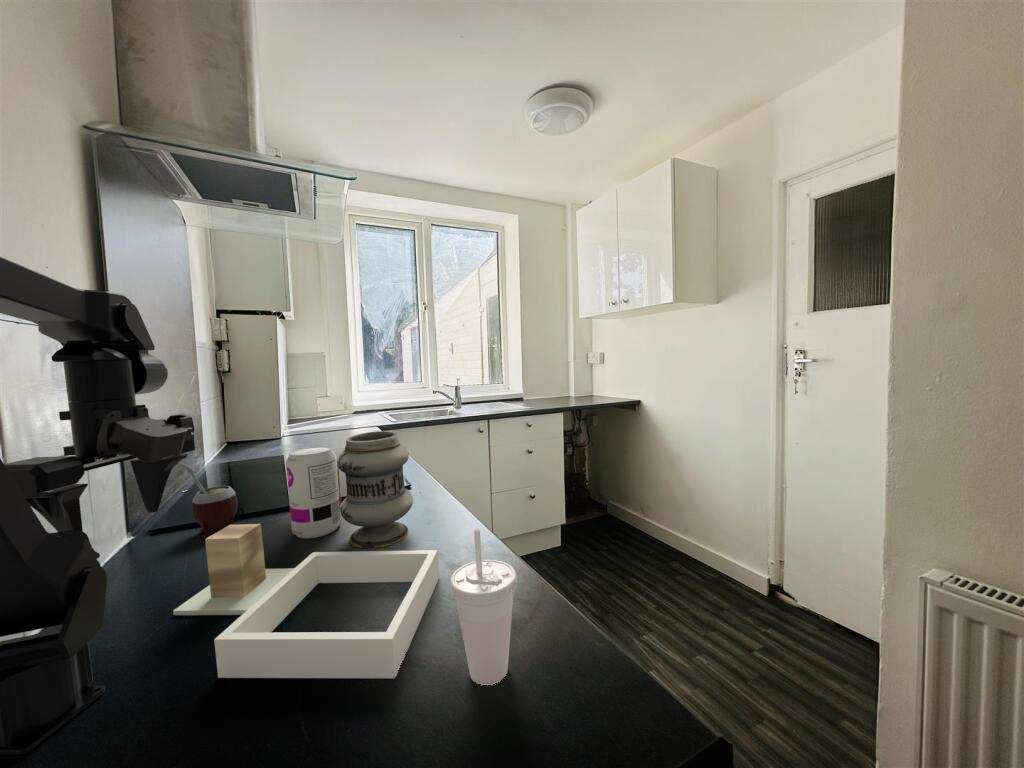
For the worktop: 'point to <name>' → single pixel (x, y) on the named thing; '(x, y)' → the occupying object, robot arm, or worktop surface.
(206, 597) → the sage mat
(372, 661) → the white square frame
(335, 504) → the supplement can
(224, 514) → the mate gourd
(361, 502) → the apothecary jar
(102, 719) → the worktop surface
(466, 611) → the smoothie
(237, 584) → the maple block
